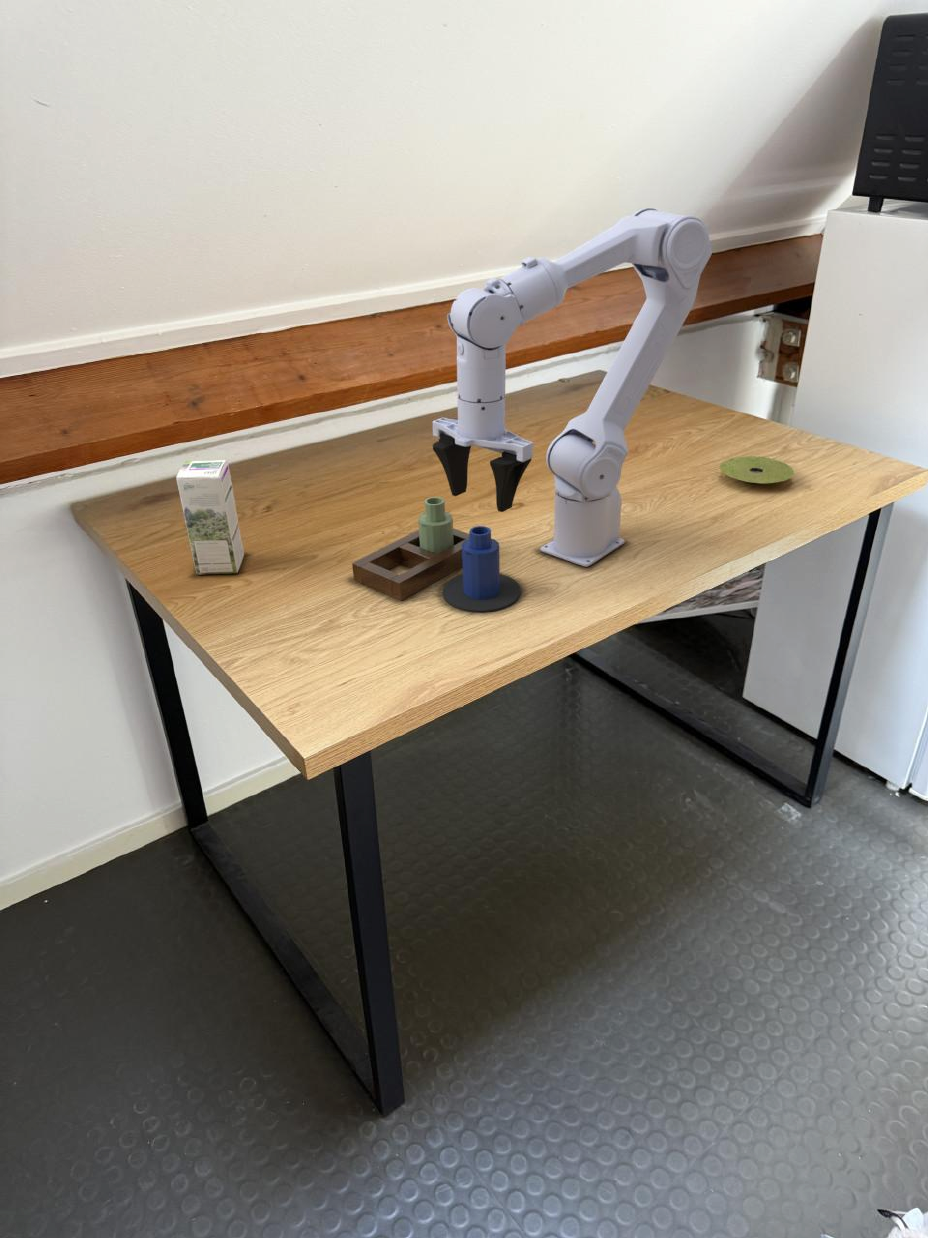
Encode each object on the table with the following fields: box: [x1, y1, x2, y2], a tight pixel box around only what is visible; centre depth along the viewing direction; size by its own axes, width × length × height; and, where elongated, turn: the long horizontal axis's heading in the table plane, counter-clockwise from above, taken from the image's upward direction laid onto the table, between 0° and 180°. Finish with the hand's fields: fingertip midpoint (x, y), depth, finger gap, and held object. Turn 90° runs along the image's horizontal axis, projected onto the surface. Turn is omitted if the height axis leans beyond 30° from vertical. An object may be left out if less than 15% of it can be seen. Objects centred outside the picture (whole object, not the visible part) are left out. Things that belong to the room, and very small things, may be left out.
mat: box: [719, 455, 795, 484], centre depth 144 cm, size 11×11×2 cm
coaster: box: [442, 573, 522, 613], centre depth 116 cm, size 10×10×1 cm
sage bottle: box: [417, 496, 454, 554], centre depth 123 cm, size 5×5×8 cm
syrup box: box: [175, 459, 245, 576], centre depth 121 cm, size 6×6×14 cm
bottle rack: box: [351, 527, 470, 601], centre depth 122 cm, size 9×16×3 cm, turn 139°
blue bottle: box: [462, 525, 501, 599], centre depth 114 cm, size 5×5×8 cm
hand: (481, 501), depth 115 cm, fingers open, 7 cm apart
